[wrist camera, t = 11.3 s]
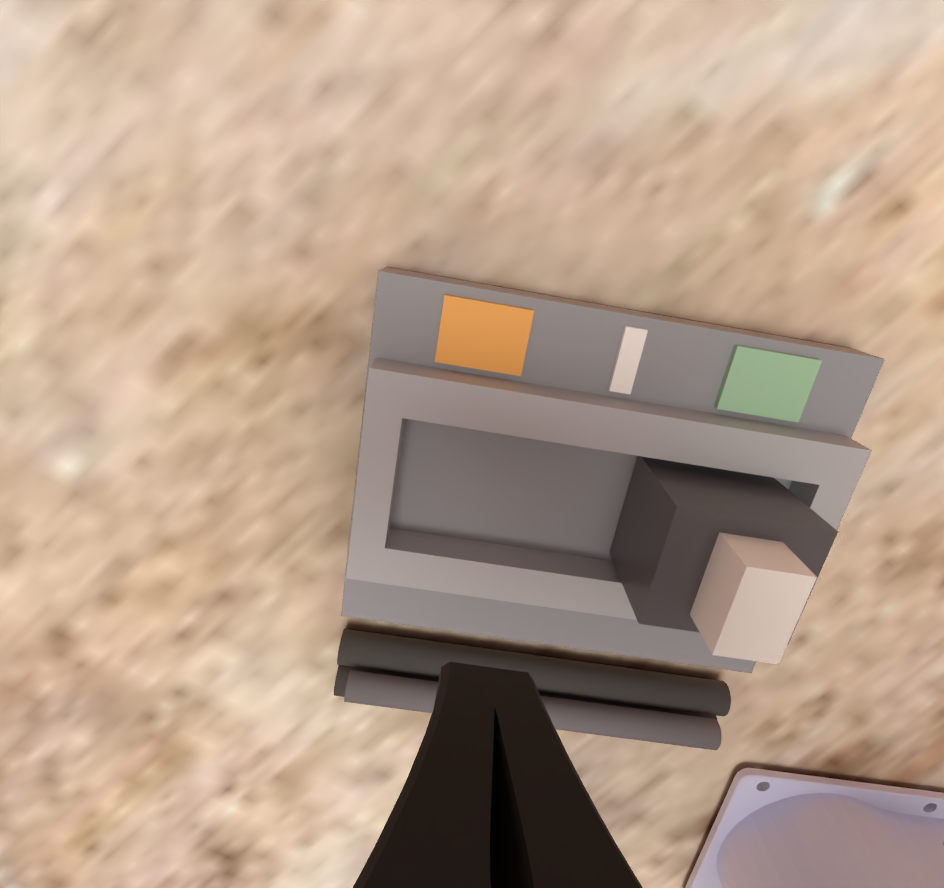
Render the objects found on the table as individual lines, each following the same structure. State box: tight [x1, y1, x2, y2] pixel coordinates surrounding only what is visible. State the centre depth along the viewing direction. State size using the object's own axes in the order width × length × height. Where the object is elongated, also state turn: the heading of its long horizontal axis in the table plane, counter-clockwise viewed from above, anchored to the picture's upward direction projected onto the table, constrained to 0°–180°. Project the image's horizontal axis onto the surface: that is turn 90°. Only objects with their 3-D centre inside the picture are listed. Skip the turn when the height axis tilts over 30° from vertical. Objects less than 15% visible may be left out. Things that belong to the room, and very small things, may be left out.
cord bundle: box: [334, 629, 731, 750], centre depth 21 cm, size 14×3×2 cm, turn 80°
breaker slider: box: [610, 456, 838, 664], centre depth 15 cm, size 4×3×5 cm
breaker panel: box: [341, 267, 884, 673], centre depth 18 cm, size 14×11×3 cm
